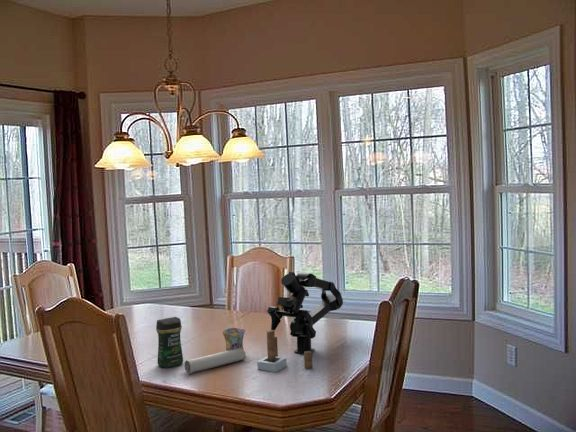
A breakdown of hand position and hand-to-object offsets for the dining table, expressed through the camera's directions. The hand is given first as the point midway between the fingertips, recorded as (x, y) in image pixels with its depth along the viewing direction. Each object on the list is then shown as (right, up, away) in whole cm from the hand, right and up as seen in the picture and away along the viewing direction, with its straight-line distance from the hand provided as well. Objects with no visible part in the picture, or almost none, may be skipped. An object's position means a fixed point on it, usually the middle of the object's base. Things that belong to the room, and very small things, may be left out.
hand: (281, 333), depth 215 cm
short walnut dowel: (+10, -11, -7) cm, 17 cm away
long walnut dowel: (-3, -12, -5) cm, 13 cm away
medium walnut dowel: (-3, -11, +4) cm, 12 cm away
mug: (-20, -12, +12) cm, 26 cm away
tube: (-25, -13, 0) cm, 28 cm away
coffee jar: (-44, -13, +4) cm, 46 cm away
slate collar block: (-3, -12, -5) cm, 13 cm away
